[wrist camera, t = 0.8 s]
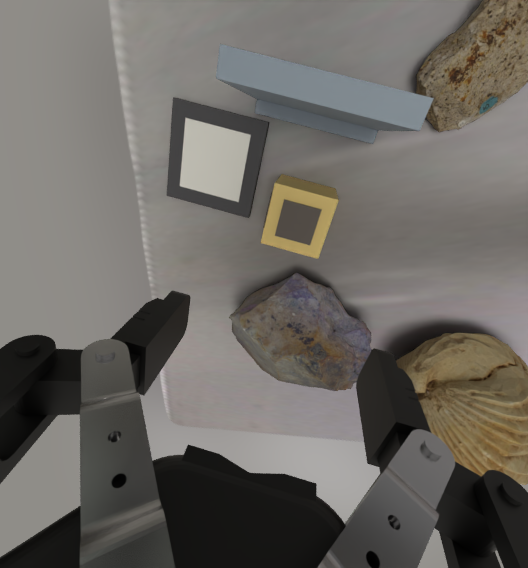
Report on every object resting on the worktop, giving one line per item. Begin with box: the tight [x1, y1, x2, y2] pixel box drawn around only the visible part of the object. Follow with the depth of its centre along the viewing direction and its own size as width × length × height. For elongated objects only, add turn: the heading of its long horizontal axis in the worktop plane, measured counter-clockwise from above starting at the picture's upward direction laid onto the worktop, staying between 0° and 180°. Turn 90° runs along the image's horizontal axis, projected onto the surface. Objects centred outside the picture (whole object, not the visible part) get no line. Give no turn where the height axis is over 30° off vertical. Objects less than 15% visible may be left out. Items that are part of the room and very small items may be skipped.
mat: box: [167, 98, 269, 218], centre depth 32 cm, size 10×10×1 cm
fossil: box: [396, 333, 528, 485], centre depth 33 cm, size 15×17×15 cm
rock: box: [416, 0, 528, 132], centre depth 24 cm, size 8×11×4 cm
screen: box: [216, 44, 434, 144], centre depth 23 cm, size 4×12×14 cm, turn 77°
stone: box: [229, 273, 372, 391], centre depth 36 cm, size 18×10×15 cm
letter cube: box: [261, 174, 339, 259], centre depth 31 cm, size 6×6×6 cm
